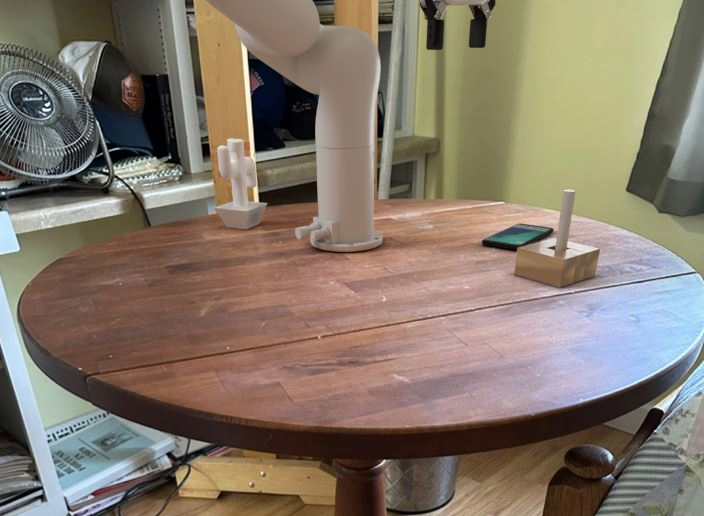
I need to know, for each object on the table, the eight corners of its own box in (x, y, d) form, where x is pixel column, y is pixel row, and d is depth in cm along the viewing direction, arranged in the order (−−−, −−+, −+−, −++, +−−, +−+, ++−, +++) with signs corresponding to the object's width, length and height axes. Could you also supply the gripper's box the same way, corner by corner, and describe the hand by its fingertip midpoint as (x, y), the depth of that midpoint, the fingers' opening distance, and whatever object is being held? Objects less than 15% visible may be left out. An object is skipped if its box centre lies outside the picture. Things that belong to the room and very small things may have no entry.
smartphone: (555, 228, 125) (518, 246, 115) (554, 232, 125) (518, 251, 115) (518, 222, 128) (479, 240, 118) (518, 226, 129) (479, 244, 119)
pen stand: (559, 287, 100) (564, 259, 98) (513, 274, 105) (517, 247, 103) (595, 276, 104) (600, 248, 102) (549, 263, 110) (553, 237, 107)
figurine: (271, 221, 136) (266, 136, 127) (245, 233, 128) (237, 143, 120) (240, 218, 138) (232, 134, 130) (212, 229, 131) (202, 141, 123)
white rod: (557, 278, 104) (570, 192, 97) (548, 275, 105) (561, 190, 98) (564, 276, 104) (577, 190, 98) (555, 273, 105) (568, 188, 99)
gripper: (485, -80, 111) (475, 46, 121) (404, -87, 102) (400, 50, 112) (522, -86, 106) (509, 47, 116) (440, -93, 97) (433, 51, 107)
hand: (456, 48), depth 114 cm, fingers open, 9 cm apart
